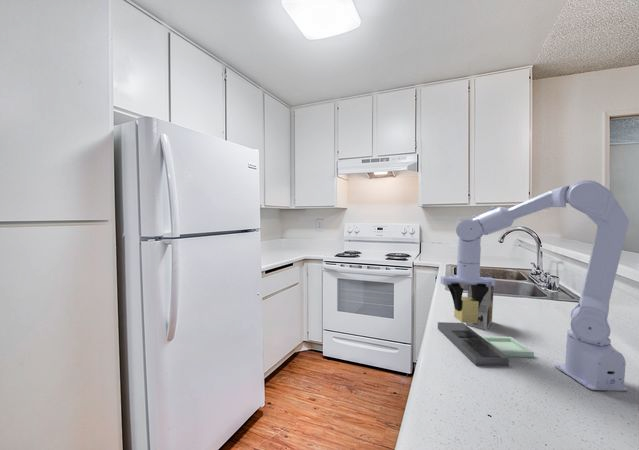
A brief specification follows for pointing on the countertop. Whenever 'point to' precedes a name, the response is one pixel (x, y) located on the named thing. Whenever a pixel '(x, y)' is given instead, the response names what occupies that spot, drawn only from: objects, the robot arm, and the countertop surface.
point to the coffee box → (484, 306)
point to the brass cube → (467, 310)
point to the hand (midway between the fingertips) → (466, 309)
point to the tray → (509, 346)
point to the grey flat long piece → (473, 345)
